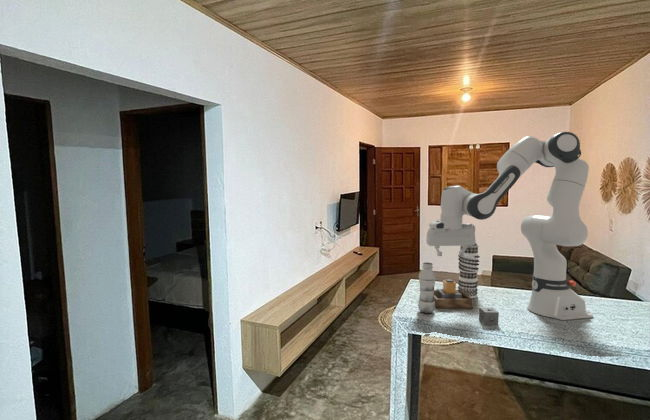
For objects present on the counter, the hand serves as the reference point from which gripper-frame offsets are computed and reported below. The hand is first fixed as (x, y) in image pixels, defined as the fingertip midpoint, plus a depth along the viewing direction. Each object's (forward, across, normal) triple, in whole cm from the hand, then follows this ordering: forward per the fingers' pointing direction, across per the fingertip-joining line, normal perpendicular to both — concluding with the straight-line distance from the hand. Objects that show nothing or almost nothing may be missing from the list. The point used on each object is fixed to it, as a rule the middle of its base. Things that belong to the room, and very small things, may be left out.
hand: (450, 255), depth 152 cm
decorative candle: (+21, -13, -11) cm, 27 cm away
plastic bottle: (+21, +13, +10) cm, 27 cm away
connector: (+20, 0, 0) cm, 20 cm away
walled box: (+21, 0, 0) cm, 21 cm away
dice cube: (+21, -7, +21) cm, 31 cm away
